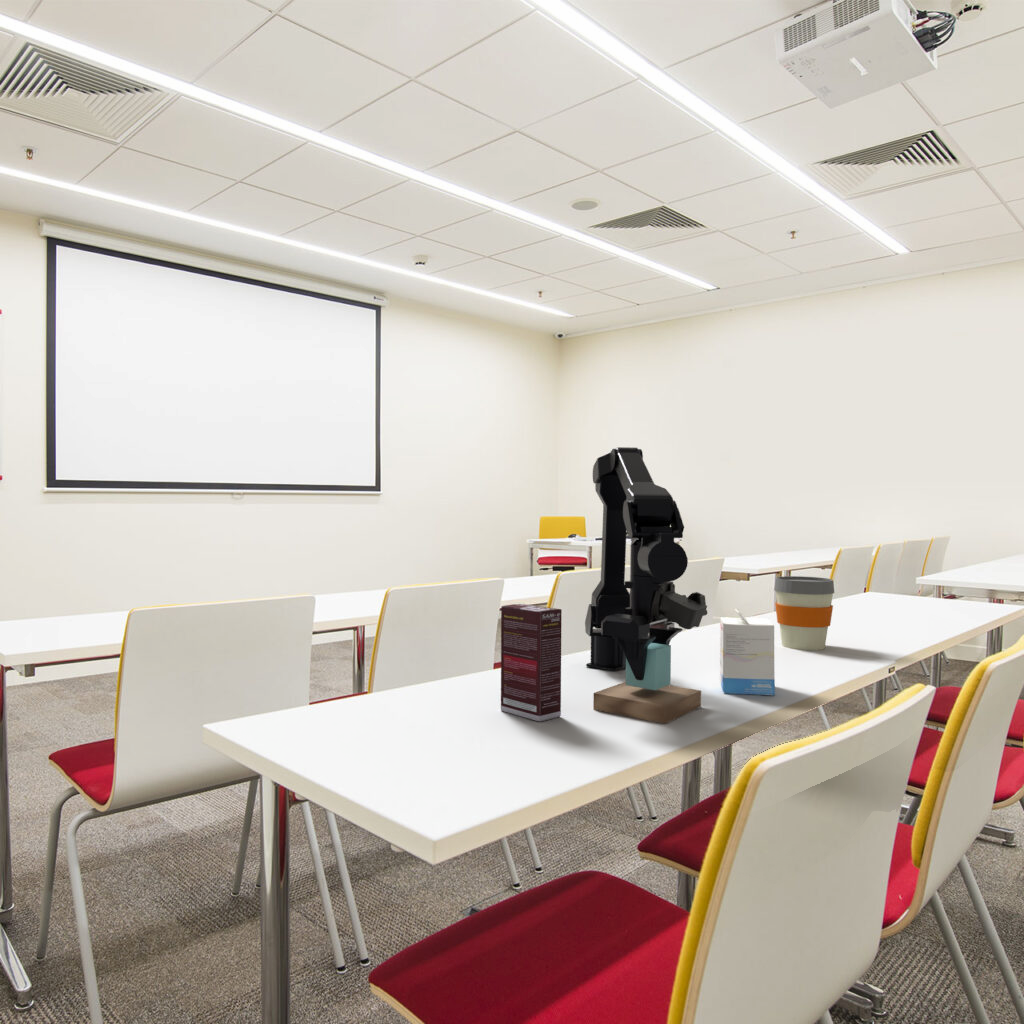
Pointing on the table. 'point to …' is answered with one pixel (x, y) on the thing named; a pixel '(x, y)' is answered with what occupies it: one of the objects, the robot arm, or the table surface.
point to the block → (653, 668)
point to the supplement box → (531, 661)
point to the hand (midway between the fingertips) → (647, 676)
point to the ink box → (747, 655)
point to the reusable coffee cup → (804, 611)
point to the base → (648, 702)
